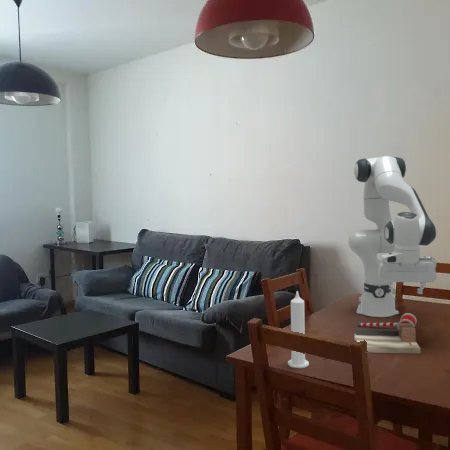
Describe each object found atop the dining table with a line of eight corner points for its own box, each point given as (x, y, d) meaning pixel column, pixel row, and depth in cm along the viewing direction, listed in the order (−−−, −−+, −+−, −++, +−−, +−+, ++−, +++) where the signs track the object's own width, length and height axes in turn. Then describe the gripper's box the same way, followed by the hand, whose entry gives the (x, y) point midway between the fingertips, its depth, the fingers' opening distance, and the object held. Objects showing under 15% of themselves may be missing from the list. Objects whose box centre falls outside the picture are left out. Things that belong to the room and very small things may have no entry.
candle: (306, 360, 170) (305, 288, 168) (310, 368, 163) (310, 293, 161) (286, 361, 170) (285, 289, 168) (289, 368, 163) (288, 294, 161)
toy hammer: (355, 330, 204) (355, 315, 203) (360, 323, 214) (360, 309, 214) (414, 336, 194) (414, 321, 194) (416, 328, 205) (416, 313, 204)
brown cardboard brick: (398, 336, 188) (398, 323, 187) (411, 336, 187) (411, 323, 187) (402, 342, 181) (402, 328, 180) (415, 342, 180) (415, 328, 180)
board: (354, 338, 193) (354, 328, 193) (410, 339, 190) (410, 329, 189) (359, 352, 177) (359, 341, 177) (420, 353, 174) (420, 342, 174)
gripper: (434, 255, 183) (433, 292, 185) (377, 255, 186) (377, 291, 188) (438, 258, 177) (438, 295, 178) (379, 258, 180) (379, 295, 181)
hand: (406, 293), depth 183 cm, fingers open, 8 cm apart
